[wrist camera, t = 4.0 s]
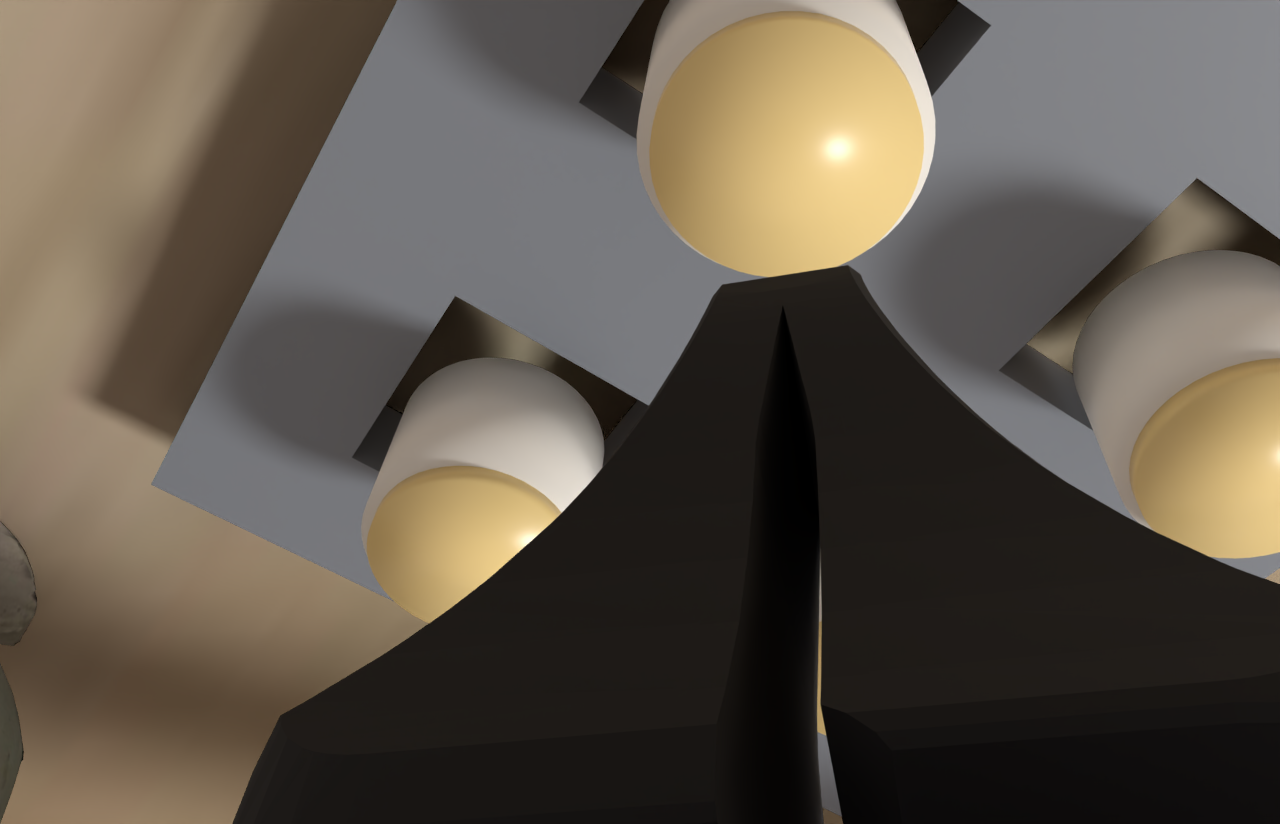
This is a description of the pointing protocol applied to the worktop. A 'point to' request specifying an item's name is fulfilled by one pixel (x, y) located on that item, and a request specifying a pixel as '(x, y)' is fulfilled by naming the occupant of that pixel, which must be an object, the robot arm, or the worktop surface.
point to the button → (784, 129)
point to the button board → (674, 272)
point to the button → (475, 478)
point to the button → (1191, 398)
